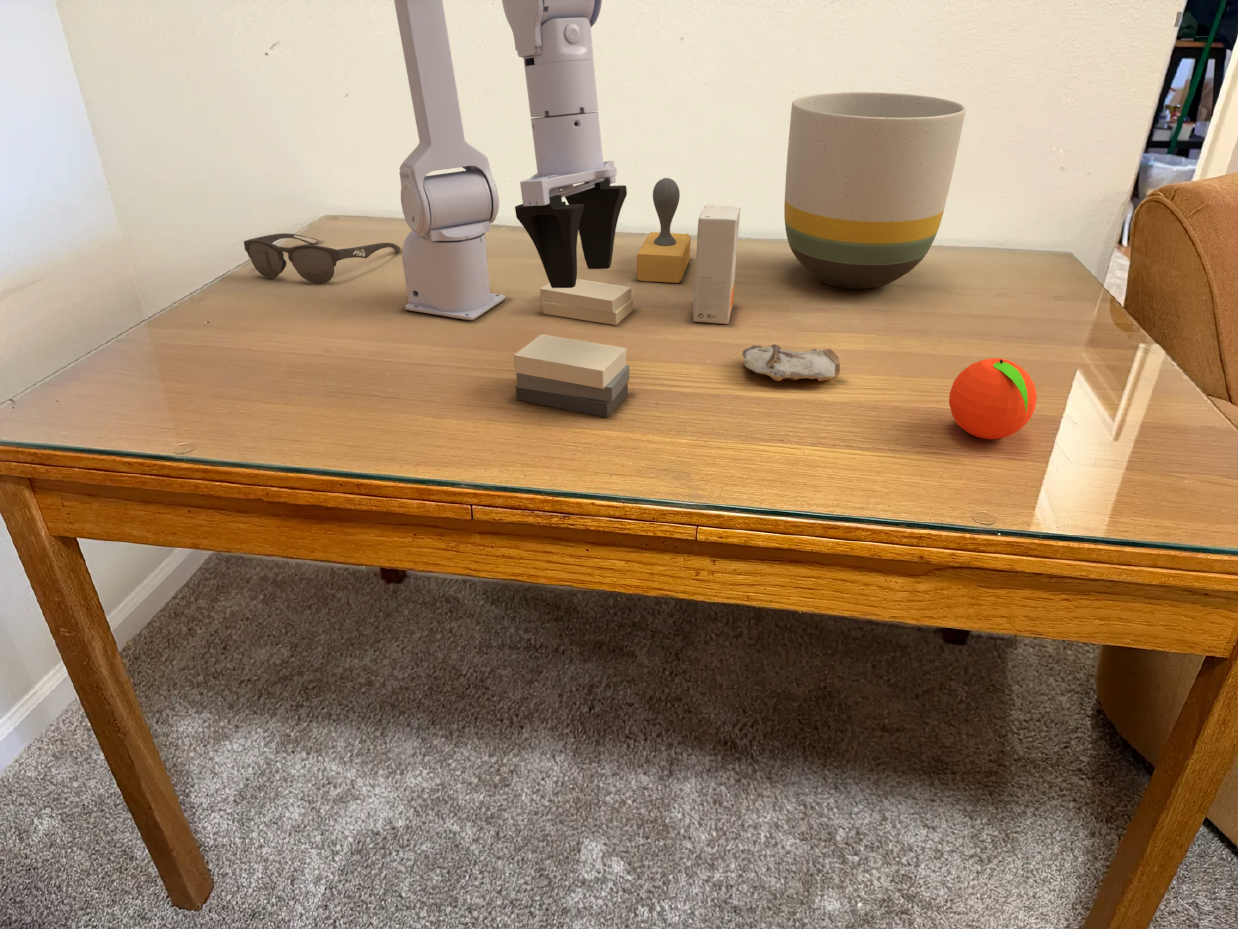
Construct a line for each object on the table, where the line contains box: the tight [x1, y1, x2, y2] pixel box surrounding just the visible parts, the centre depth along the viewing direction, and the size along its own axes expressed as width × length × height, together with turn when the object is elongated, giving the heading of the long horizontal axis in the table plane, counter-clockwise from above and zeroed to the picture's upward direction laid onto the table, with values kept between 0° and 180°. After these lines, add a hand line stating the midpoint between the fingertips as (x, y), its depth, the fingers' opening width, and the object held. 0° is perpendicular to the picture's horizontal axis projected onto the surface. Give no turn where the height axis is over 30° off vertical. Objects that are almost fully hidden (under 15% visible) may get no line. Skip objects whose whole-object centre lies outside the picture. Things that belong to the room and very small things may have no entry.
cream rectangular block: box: [513, 333, 627, 389], centre depth 79 cm, size 9×6×2 cm, turn 67°
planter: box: [783, 91, 967, 290], centre depth 104 cm, size 20×20×21 cm
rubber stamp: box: [636, 177, 692, 284], centre depth 110 cm, size 10×6×12 cm, turn 169°
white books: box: [539, 278, 634, 326], centre depth 100 cm, size 10×6×3 cm, turn 67°
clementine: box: [948, 357, 1038, 440], centre depth 72 cm, size 8×7×7 cm
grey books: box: [515, 364, 630, 418], centre depth 80 cm, size 10×6×3 cm, turn 67°
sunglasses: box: [243, 232, 401, 284], centre depth 115 cm, size 16×17×5 cm
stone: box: [741, 343, 841, 382], centre depth 85 cm, size 10×7×3 cm
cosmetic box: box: [692, 204, 741, 325], centre depth 97 cm, size 6×4×12 cm
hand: (582, 277), depth 76 cm, fingers open, 7 cm apart
